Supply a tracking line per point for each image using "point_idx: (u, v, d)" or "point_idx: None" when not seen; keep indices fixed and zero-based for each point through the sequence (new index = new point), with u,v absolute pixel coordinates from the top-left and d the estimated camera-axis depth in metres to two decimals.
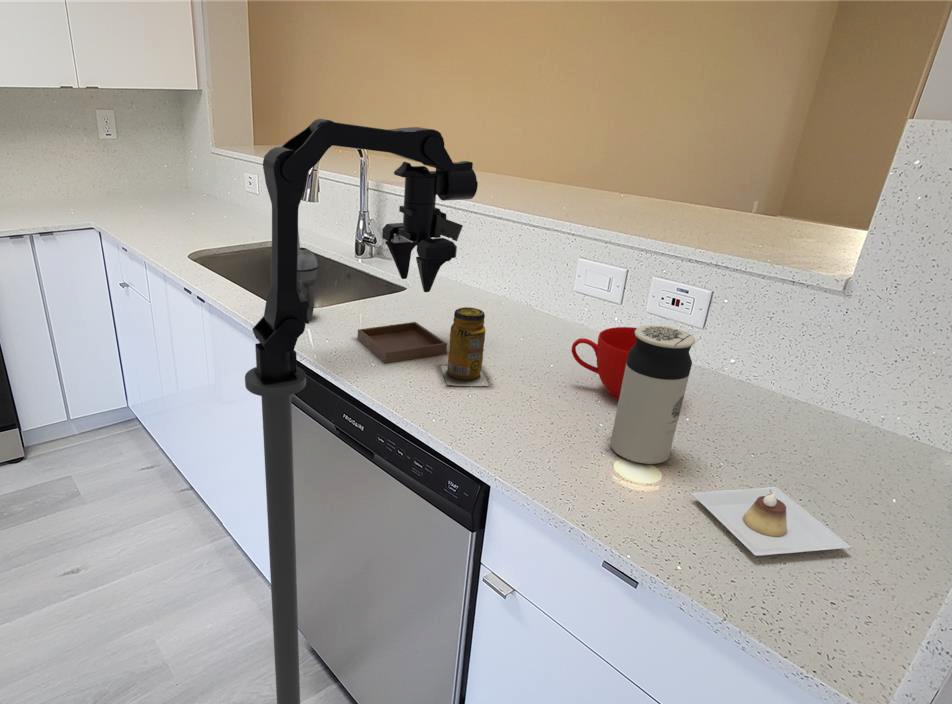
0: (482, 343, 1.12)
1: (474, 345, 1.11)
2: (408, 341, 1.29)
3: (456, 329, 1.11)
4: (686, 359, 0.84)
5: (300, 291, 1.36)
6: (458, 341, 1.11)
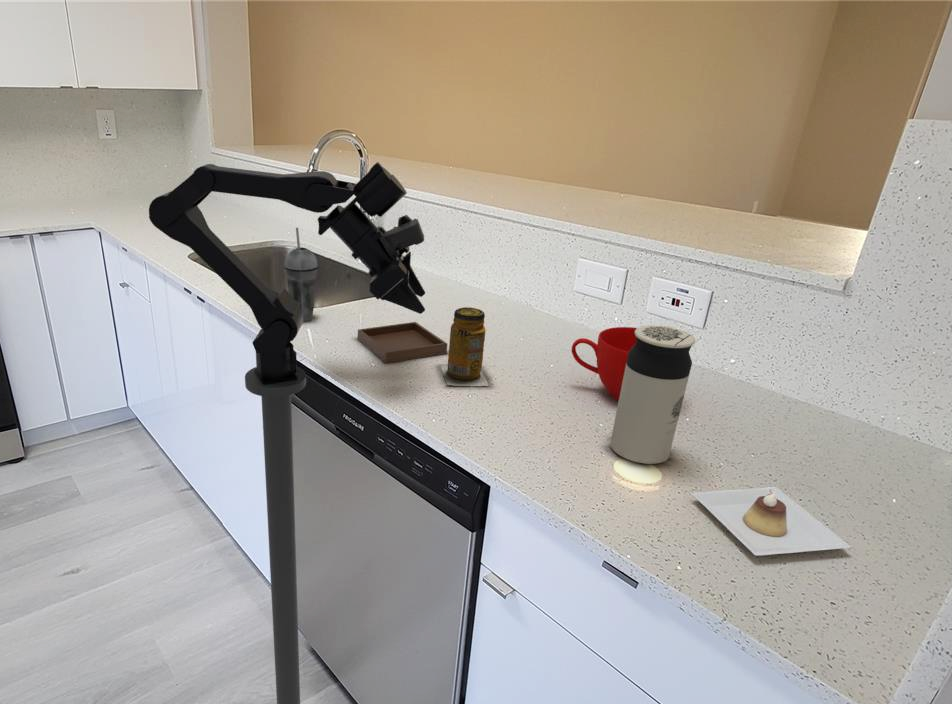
0: (482, 343, 1.12)
1: (474, 345, 1.11)
2: (408, 341, 1.29)
3: (456, 329, 1.11)
4: (686, 359, 0.84)
5: (300, 291, 1.36)
6: (458, 341, 1.11)
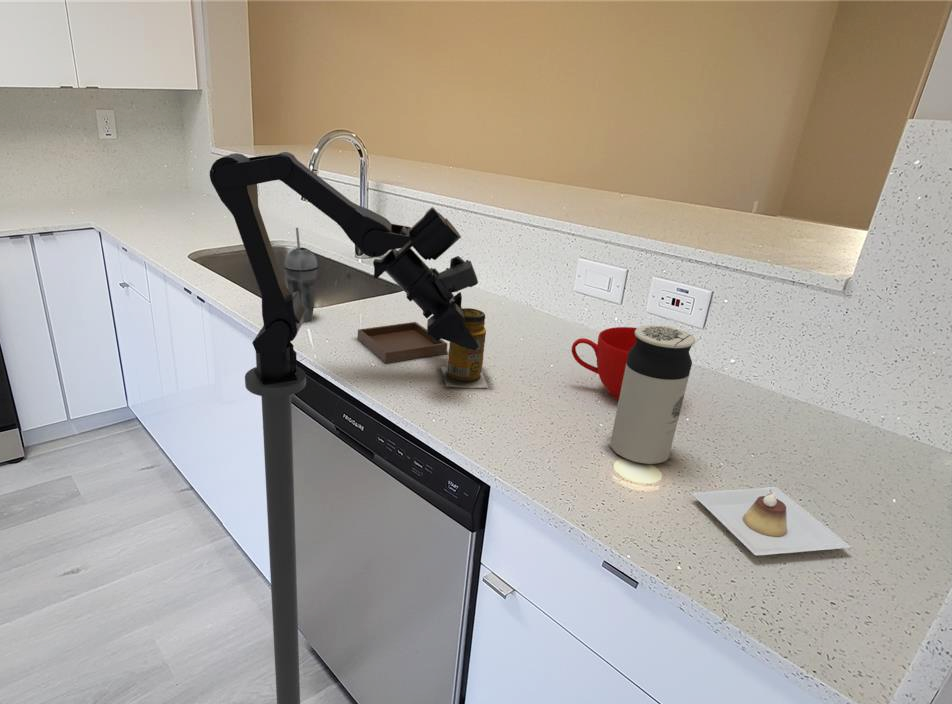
0: (482, 344, 1.11)
1: None
2: (408, 341, 1.29)
3: None
4: (686, 359, 0.84)
5: (300, 291, 1.36)
6: None
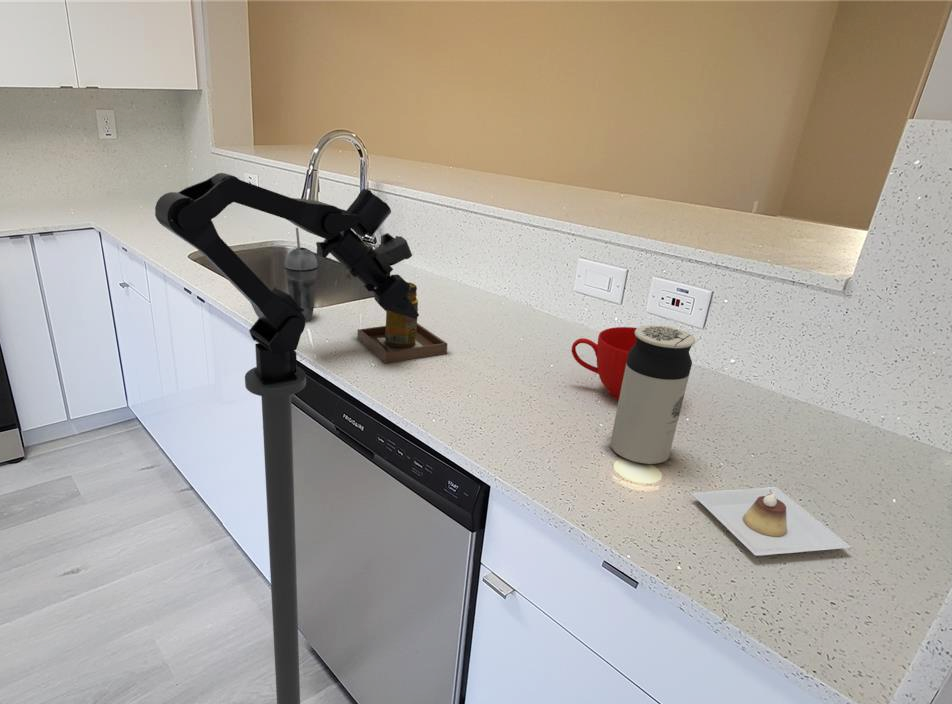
0: None
1: None
2: None
3: None
4: (686, 359, 0.84)
5: (300, 291, 1.36)
6: None
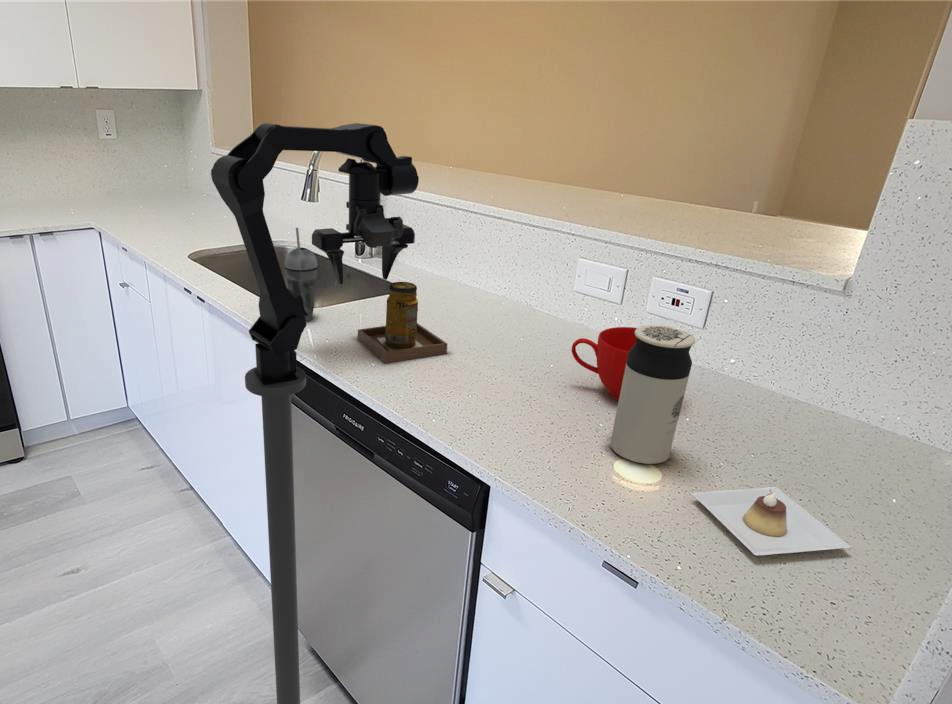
0: (416, 312, 1.24)
1: (411, 315, 1.23)
2: None
3: (393, 301, 1.22)
4: (686, 359, 0.84)
5: (300, 291, 1.36)
6: (397, 312, 1.22)
